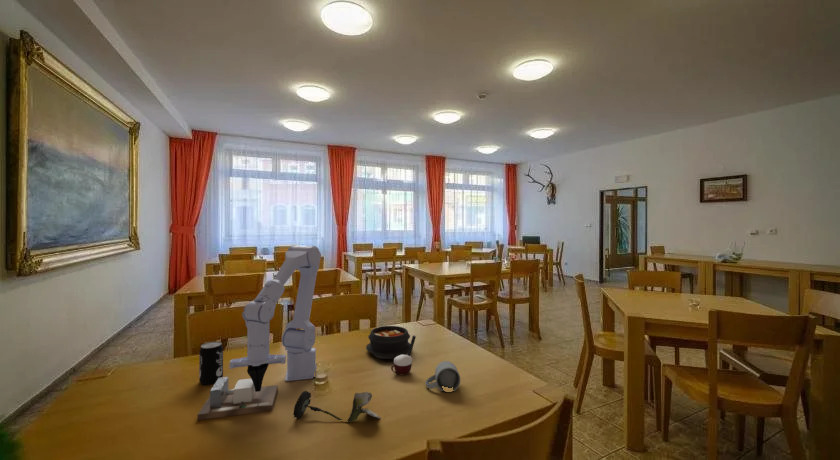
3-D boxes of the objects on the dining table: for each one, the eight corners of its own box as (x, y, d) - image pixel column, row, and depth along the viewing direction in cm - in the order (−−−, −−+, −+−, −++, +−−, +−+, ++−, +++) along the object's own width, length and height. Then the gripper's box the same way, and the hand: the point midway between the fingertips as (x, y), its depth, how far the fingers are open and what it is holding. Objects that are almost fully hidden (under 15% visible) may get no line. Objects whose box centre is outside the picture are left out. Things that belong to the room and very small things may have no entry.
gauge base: (277, 389, 105) (277, 384, 105) (272, 410, 93) (272, 404, 93) (211, 397, 100) (211, 392, 100) (197, 420, 88) (197, 414, 88)
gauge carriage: (255, 391, 100) (255, 378, 100) (249, 406, 92) (249, 391, 92) (229, 394, 98) (229, 380, 98) (220, 410, 90) (220, 395, 90)
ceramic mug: (456, 380, 112) (456, 357, 112) (460, 392, 104) (460, 368, 104) (424, 381, 112) (424, 358, 111) (426, 394, 103) (426, 369, 103)
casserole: (416, 362, 127) (417, 340, 127) (366, 365, 124) (367, 342, 124) (407, 339, 152) (407, 321, 152) (365, 342, 148) (365, 323, 148)
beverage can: (211, 386, 106) (211, 348, 106) (194, 384, 108) (194, 347, 107) (227, 377, 113) (227, 341, 112) (210, 375, 114) (210, 340, 114)
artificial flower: (306, 411, 95) (314, 374, 98) (381, 431, 91) (388, 392, 93) (289, 420, 87) (299, 379, 89) (371, 442, 82) (379, 398, 85)
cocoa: (392, 378, 114) (391, 344, 113) (389, 370, 120) (388, 337, 119) (419, 375, 116) (418, 340, 115) (415, 366, 122) (414, 334, 121)
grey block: (228, 393, 99) (228, 376, 99) (220, 408, 91) (220, 389, 91) (218, 394, 98) (218, 377, 98) (210, 409, 91) (210, 390, 90)
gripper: (226, 350, 91) (226, 400, 92) (283, 345, 95) (283, 393, 96) (233, 341, 98) (233, 388, 98) (286, 337, 102) (286, 382, 102)
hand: (258, 389), depth 97 cm, fingers closed
